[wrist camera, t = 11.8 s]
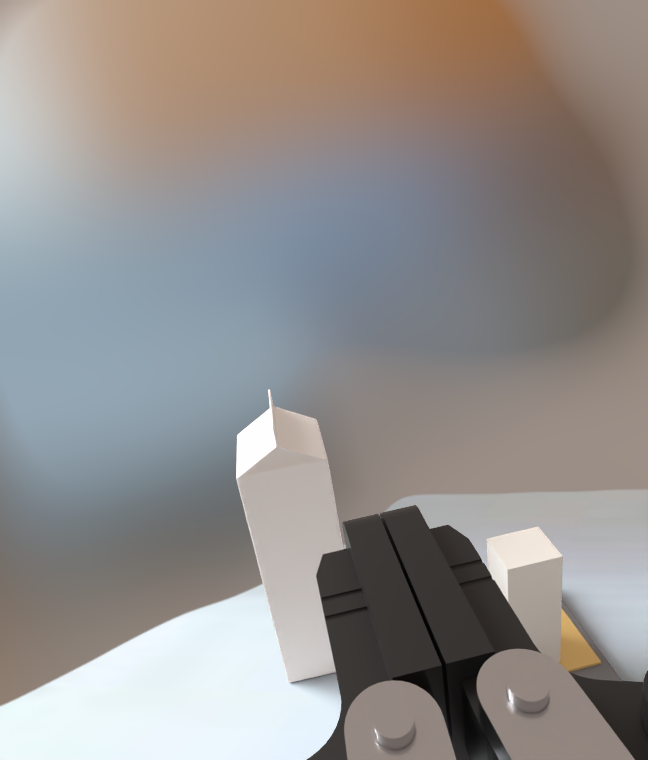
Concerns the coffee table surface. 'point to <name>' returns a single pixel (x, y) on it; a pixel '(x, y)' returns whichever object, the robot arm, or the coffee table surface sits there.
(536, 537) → the block
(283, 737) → the coffee table surface
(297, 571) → the milk
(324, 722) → the coffee table surface
